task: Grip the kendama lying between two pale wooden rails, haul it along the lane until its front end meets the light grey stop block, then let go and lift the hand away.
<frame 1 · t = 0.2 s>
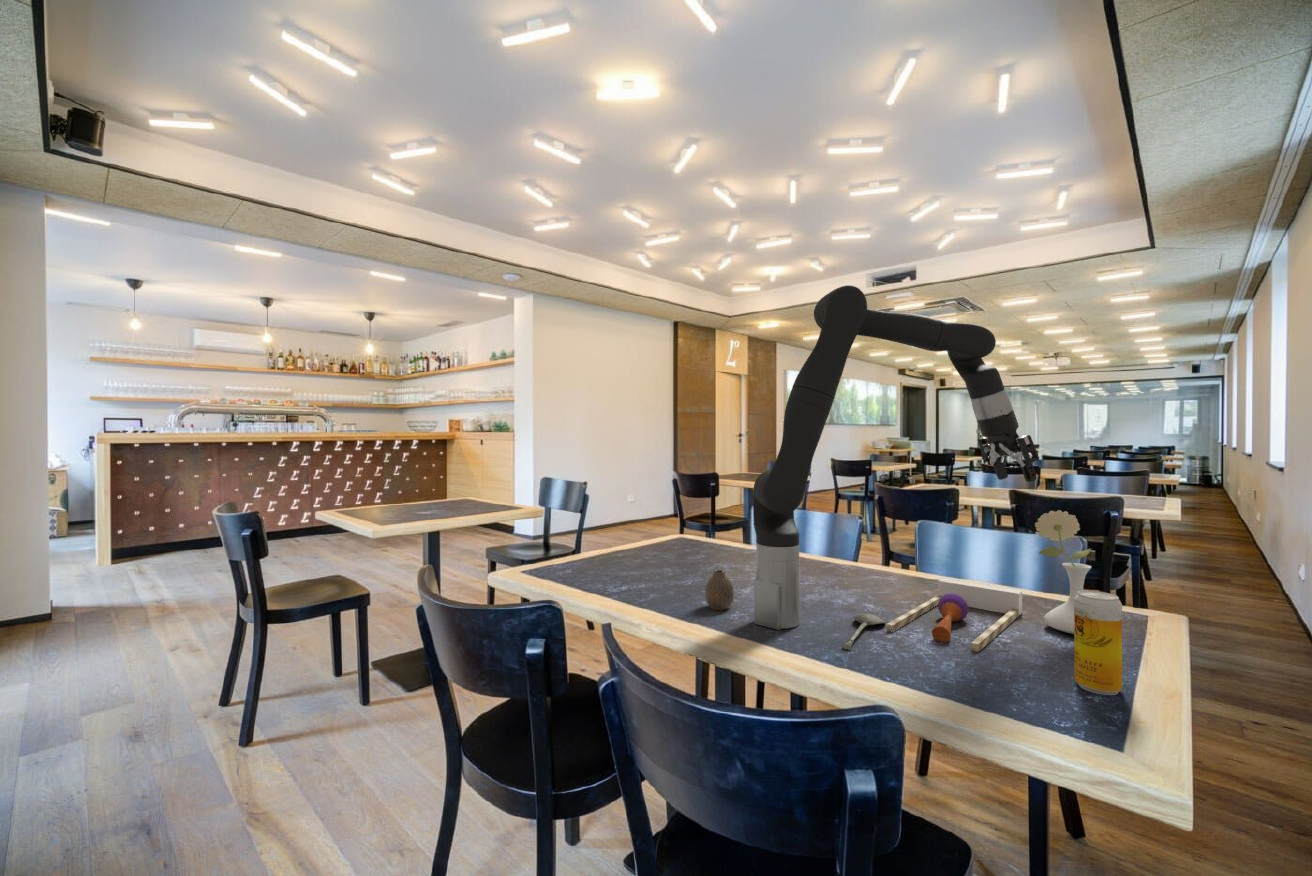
hand: (1017, 479, 131), 31 cm above the table, tool tilted 20°, fingers open, 8 cm apart
vase: (719, 608, 137), on the table
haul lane: (955, 623, 125), on the table
flower in vase: (1071, 631, 120), on the table
beer can: (1097, 689, 92), on the table
kendama: (948, 630, 122), on the table
end stop: (978, 606, 137), on the table
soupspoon: (860, 636, 119), on the table
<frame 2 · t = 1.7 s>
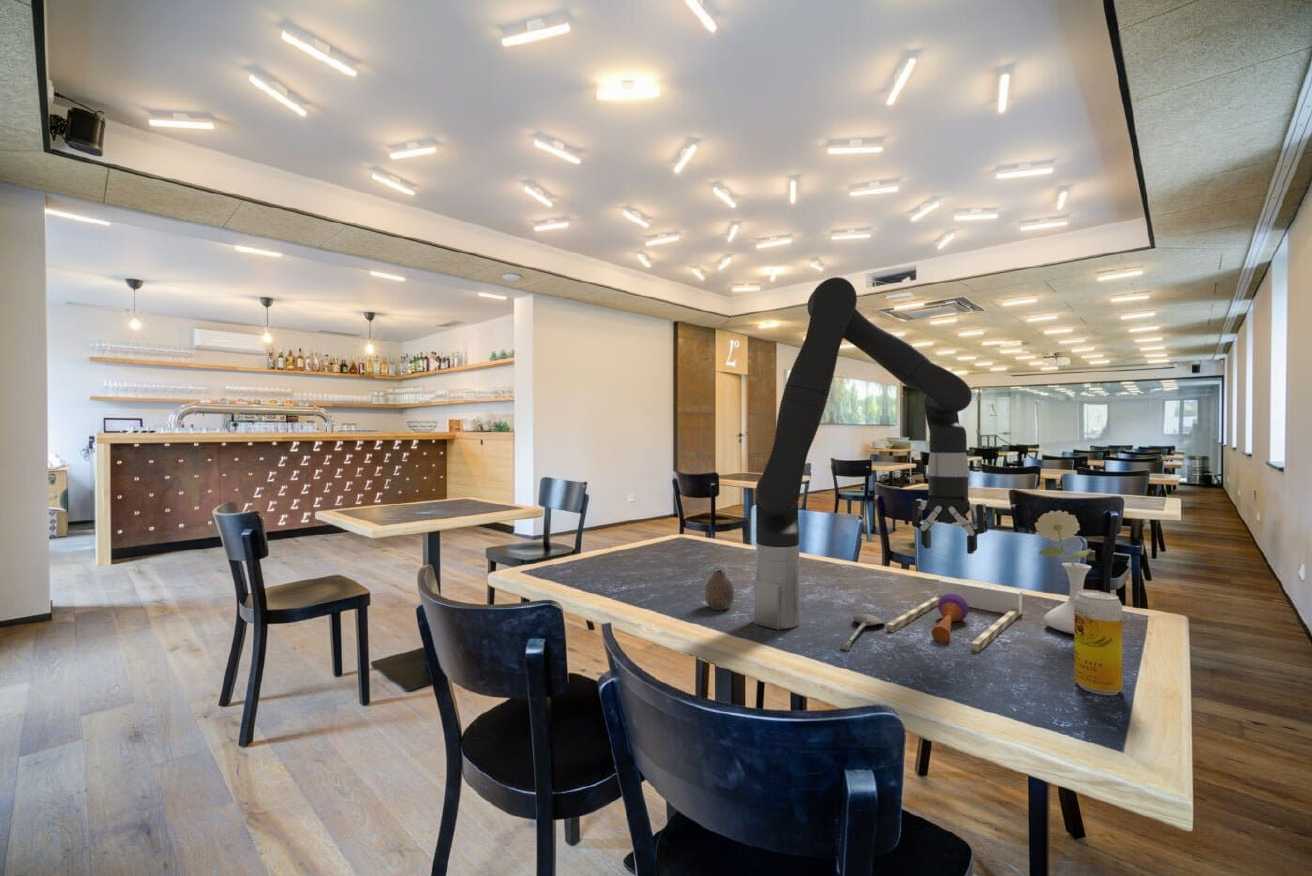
hand: (948, 550, 122), 16 cm above the table, tool pointing down, fingers open, 8 cm apart
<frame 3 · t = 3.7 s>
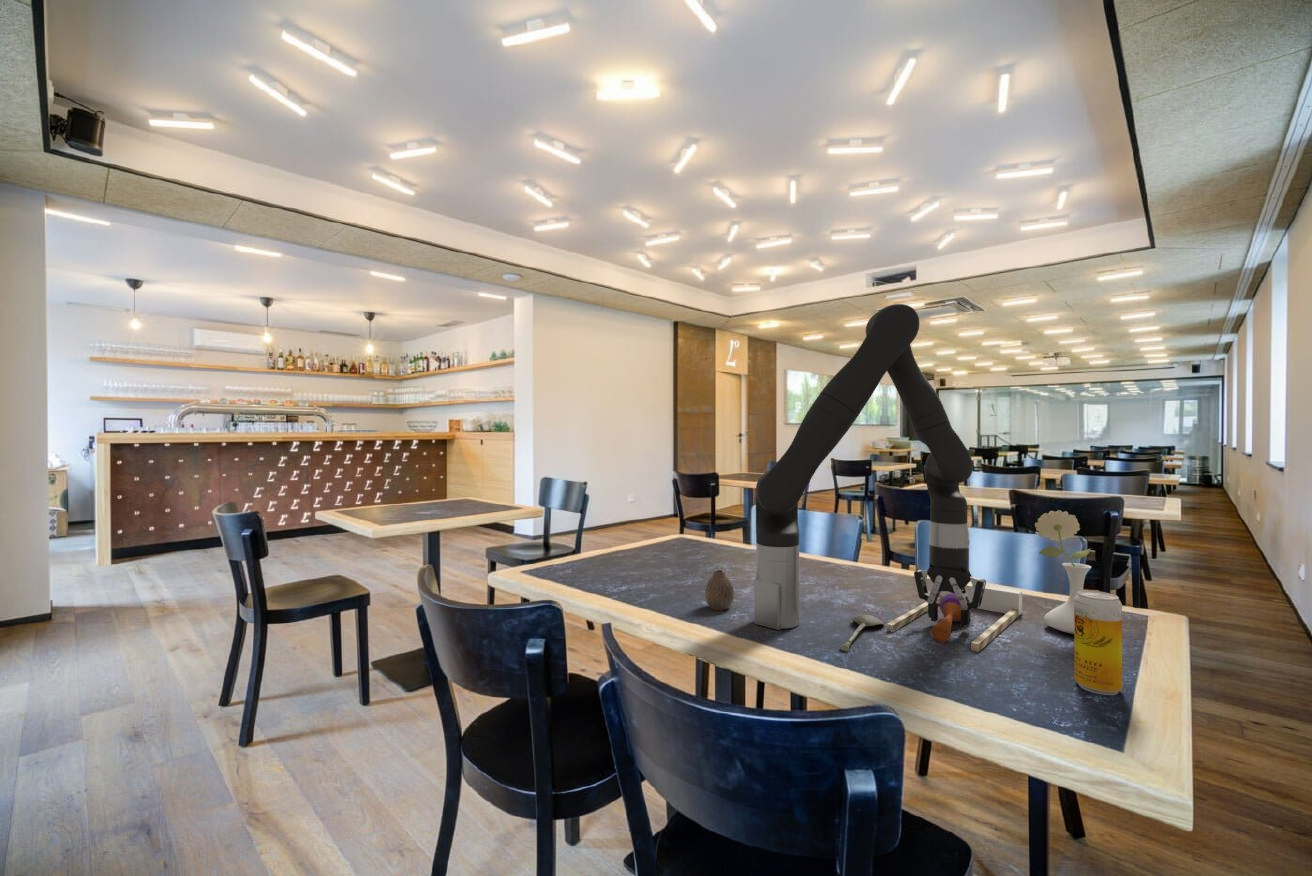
hand: (949, 623, 122), 1 cm above the table, tool pointing down, fingers closed on kendama, 5 cm apart
kendama: (949, 629, 122), on the table, touching gripper
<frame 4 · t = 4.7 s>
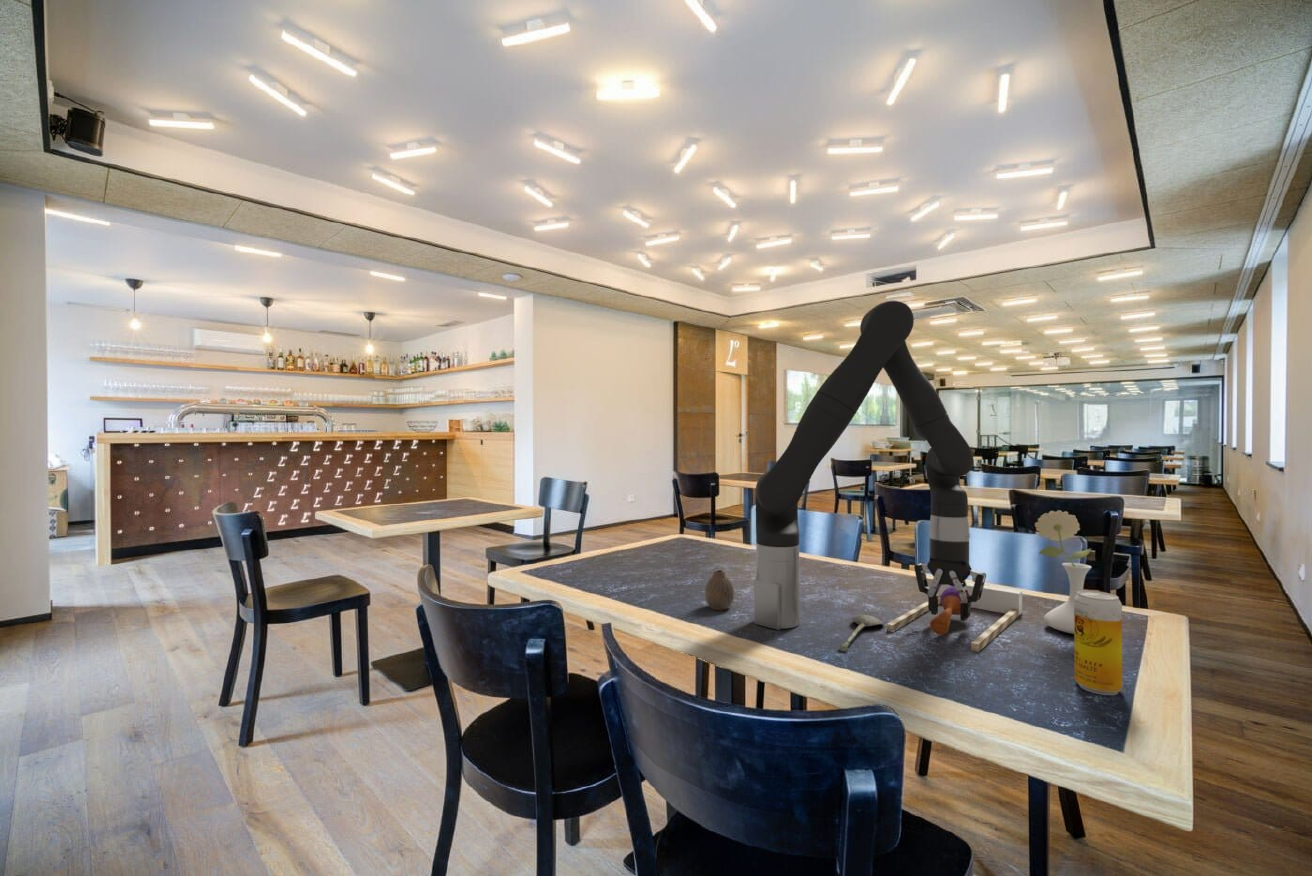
hand: (949, 616, 122), 2 cm above the table, tool pointing down, fingers closed on kendama, 5 cm apart
kendama: (949, 622, 122), point 1 cm above the table, touching gripper
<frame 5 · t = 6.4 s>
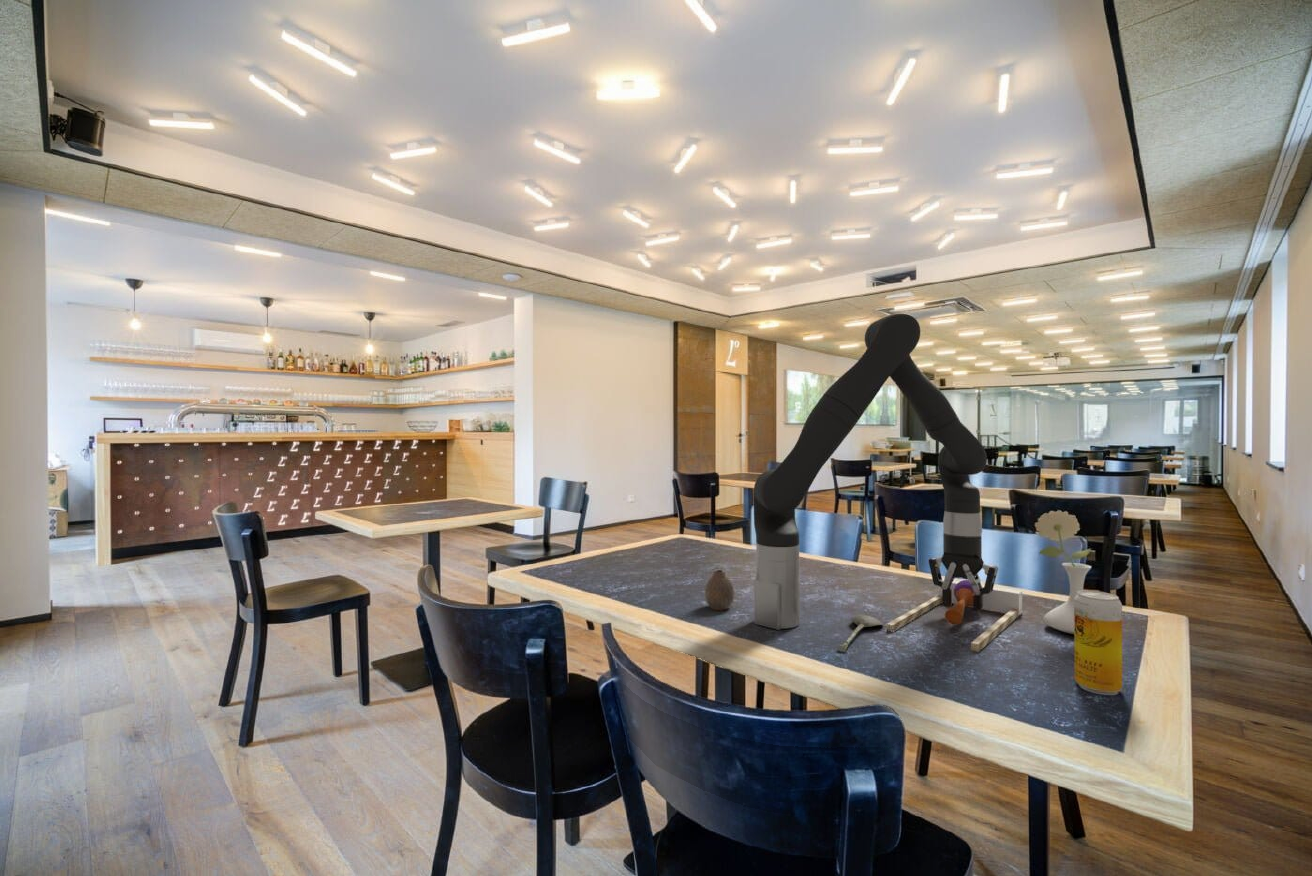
hand: (962, 608, 128), 2 cm above the table, tool pointing down, fingers closed on kendama, 5 cm apart
kendama: (962, 614, 128), point 1 cm above the table, touching gripper
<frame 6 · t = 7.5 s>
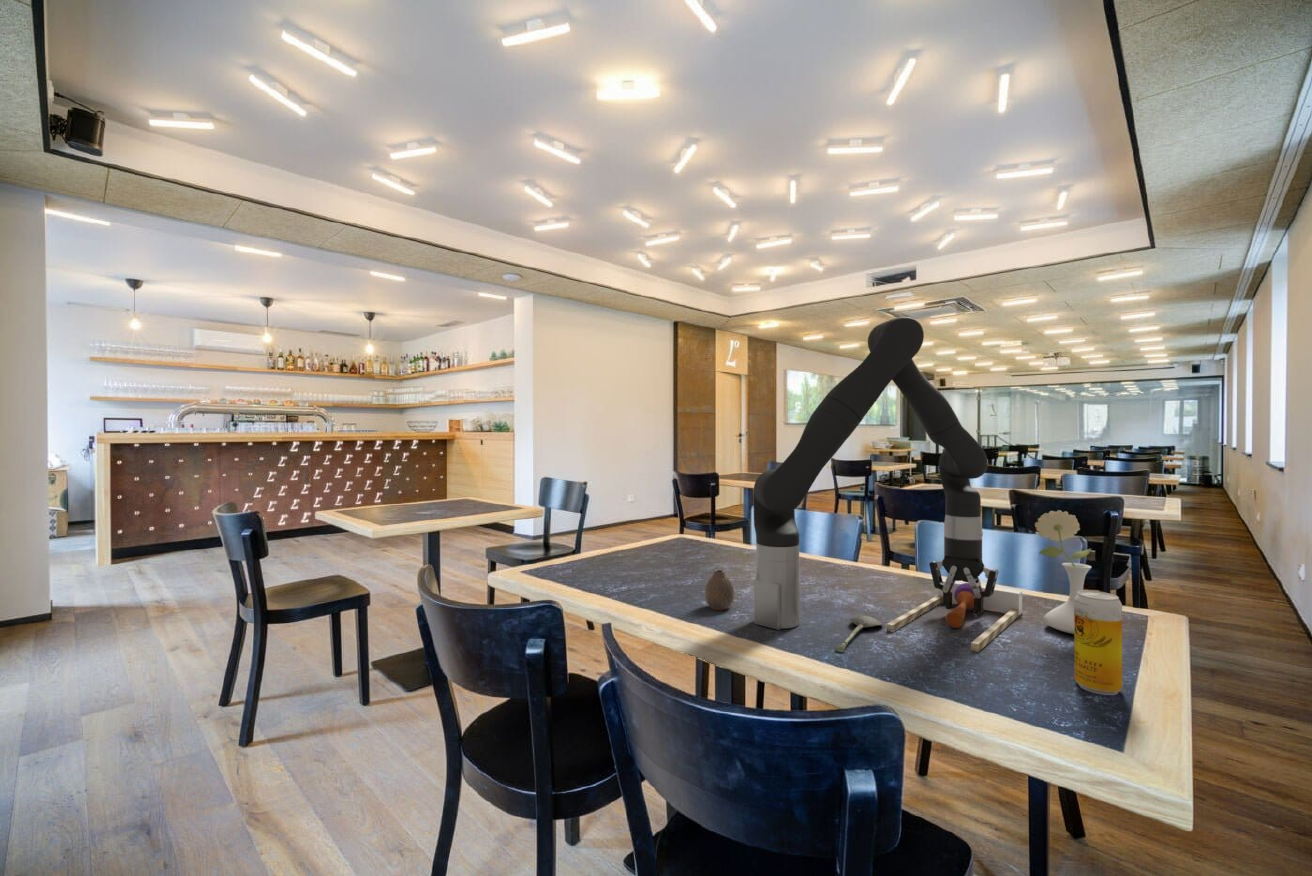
hand: (963, 611, 129), 1 cm above the table, tool pointing down, fingers closed on kendama, 5 cm apart
kendama: (963, 617, 129), on the table, touching gripper
when the fingers open (1 cm above the table, at t = 7.9 s): kendama stays where it is, on the table.
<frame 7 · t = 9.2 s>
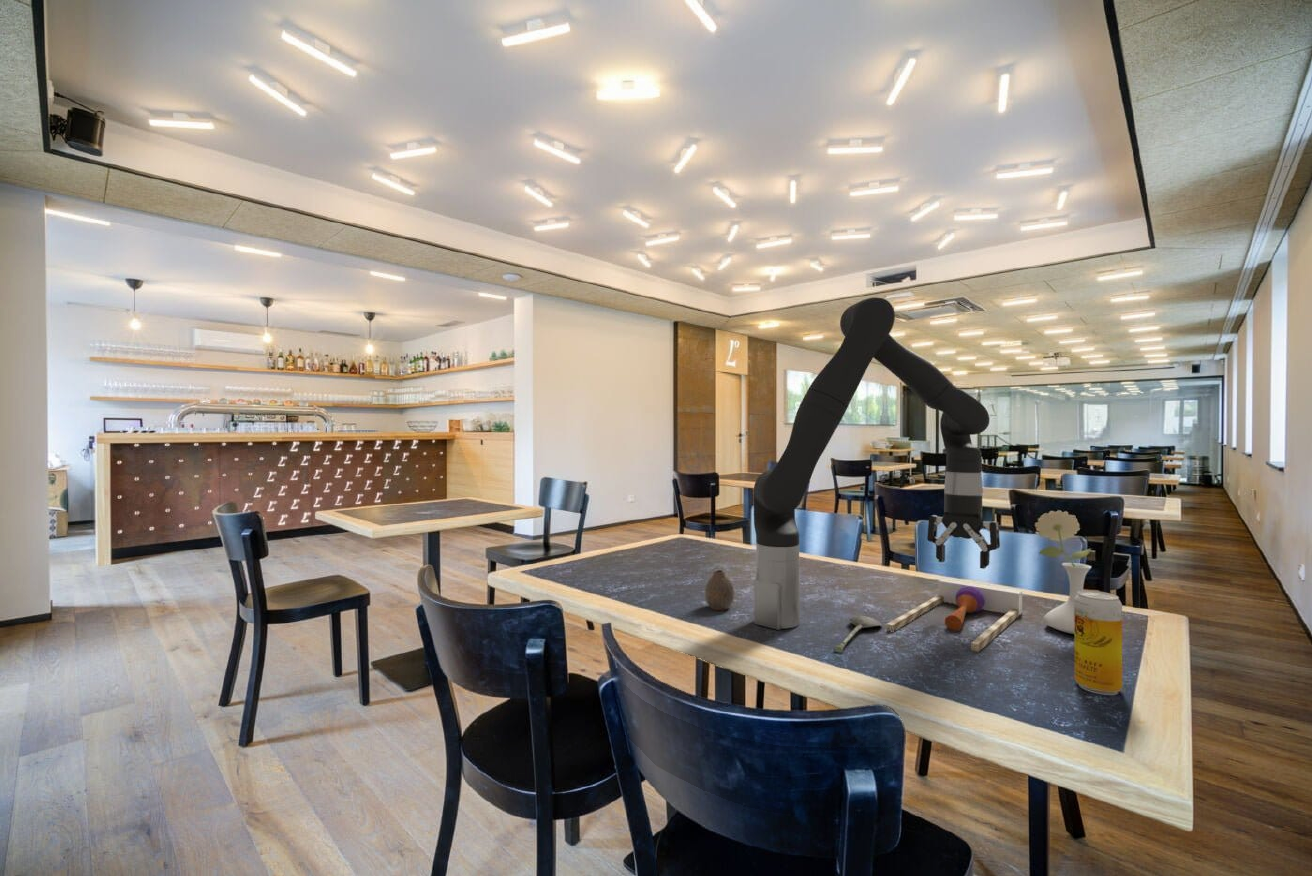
hand: (962, 564, 129), 12 cm above the table, tool pointing down, fingers open, 8 cm apart
kendama: (963, 620, 128), on the table
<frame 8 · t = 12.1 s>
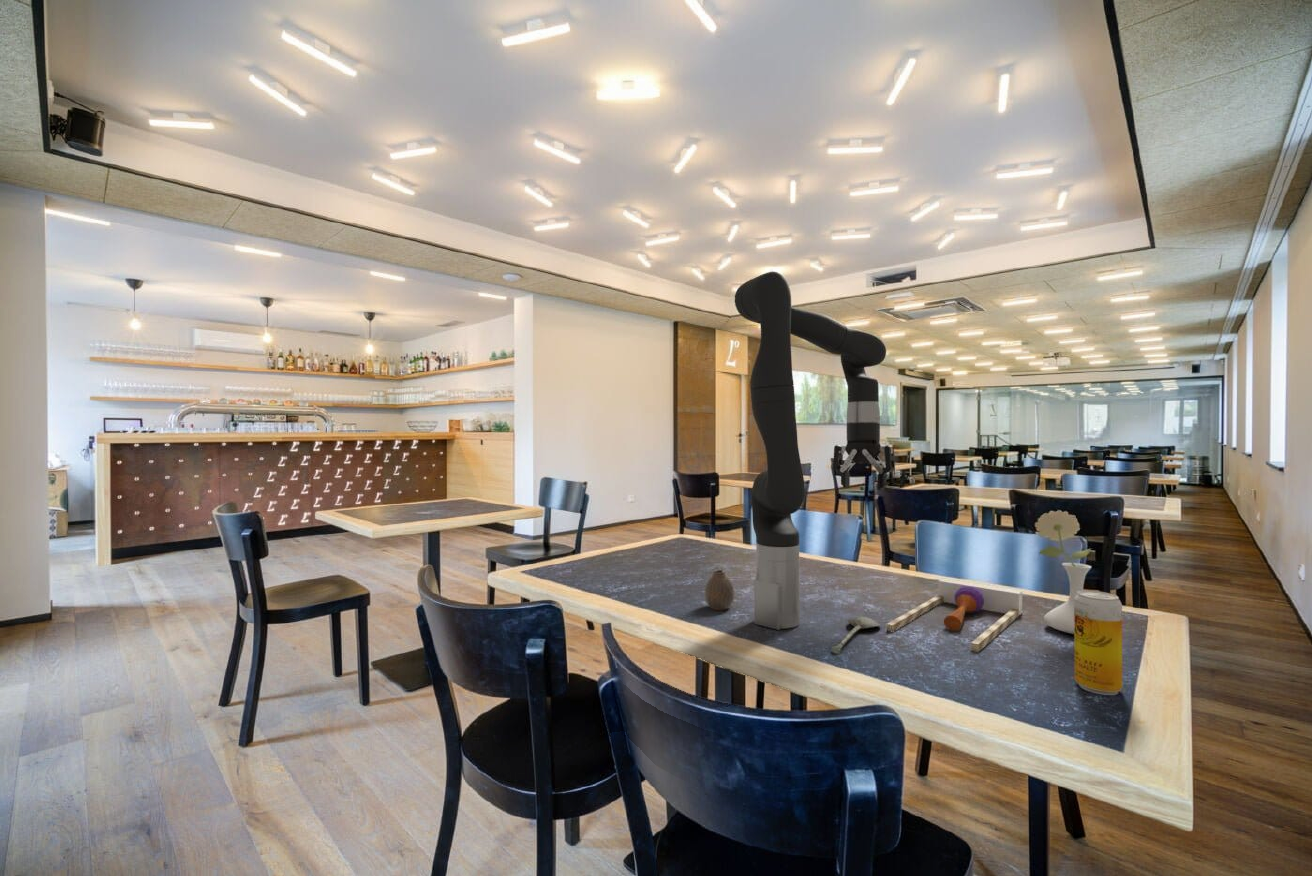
hand: (863, 488, 138), 28 cm above the table, tool pointing down, fingers open, 8 cm apart
at the end: kendama 0.6 cm from the target spot, on the table; the gripper is holding nothing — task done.
